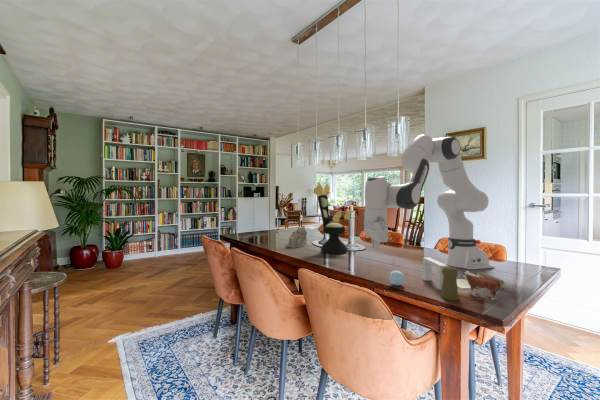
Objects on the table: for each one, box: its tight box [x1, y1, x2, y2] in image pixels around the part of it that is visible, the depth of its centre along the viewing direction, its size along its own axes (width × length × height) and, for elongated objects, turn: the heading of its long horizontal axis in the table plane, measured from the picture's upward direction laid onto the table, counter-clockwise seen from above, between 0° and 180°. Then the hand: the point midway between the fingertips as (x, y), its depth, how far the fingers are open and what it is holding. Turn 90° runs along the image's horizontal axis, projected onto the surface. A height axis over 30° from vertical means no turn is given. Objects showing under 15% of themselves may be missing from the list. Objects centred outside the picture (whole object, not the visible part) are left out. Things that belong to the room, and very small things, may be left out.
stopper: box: [476, 271, 505, 290], centre depth 129 cm, size 2×14×3 cm, turn 4°
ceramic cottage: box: [287, 224, 308, 249], centre depth 218 cm, size 16×16×15 cm
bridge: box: [422, 256, 449, 291], centre depth 127 cm, size 3×15×10 cm, turn 3°
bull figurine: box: [462, 270, 500, 301], centre depth 114 cm, size 4×13×8 cm, turn 32°
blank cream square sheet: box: [456, 278, 471, 290], centre depth 128 cm, size 12×12×1 cm
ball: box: [388, 270, 405, 286], centre depth 126 cm, size 6×6×6 cm
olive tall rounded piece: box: [440, 266, 460, 301], centre depth 112 cm, size 6×6×11 cm
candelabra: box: [314, 181, 353, 255], centre depth 194 cm, size 19×22×45 cm
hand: (375, 249), depth 125 cm, fingers closed
